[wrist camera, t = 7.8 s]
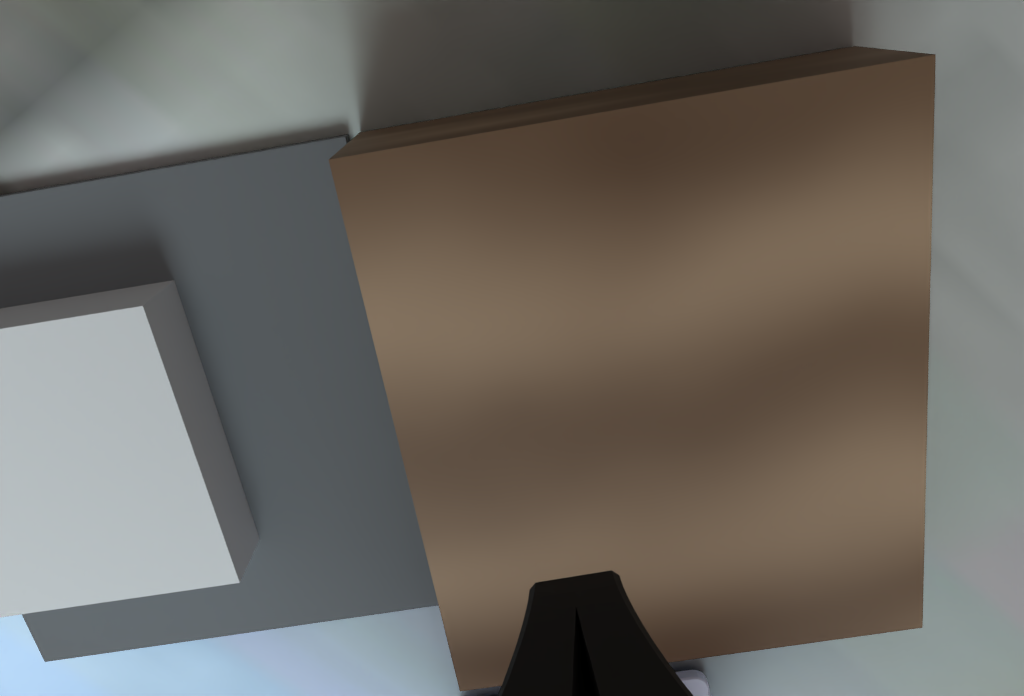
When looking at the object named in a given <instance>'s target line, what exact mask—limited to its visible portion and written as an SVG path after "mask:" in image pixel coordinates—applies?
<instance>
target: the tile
mask: <svg viewBox="0 0 1024 696" xmlns="http://www.w3.org/2000/svg"><path fill="white" fill-rule="evenodd" d="M259 540H260V539H259V536H258V533H257V530H256V527H255V524H254V521H253V517H252V514H251V511H250V508H249V505H248V502H247V499H246V496H245V493H244V490H243V487H242V484H241V481H240V478H239V475H238V472H237V469H236V466H235V463H234V460H233V457H232V454H231V451H230V448H229V445H228V442H227V439H226V436H225V433H224V430H223V427H222V424H221V421H220V418H219V415H218V412H217V409H216V406H215V403H214V400H213V397H212V394H211V391H210V388H209V385H208V382H207V379H206V376H205V372H204V369H203V366H202V363H201V360H200V357H199V354H198V351H197V348H196V345H195V342H194V339H193V336H192V333H191V330H190V327H189V324H188V321H187V318H186V315H185V312H184V309H183V306H182V303H181V300H180V297H179V294H178V291H177V288H176V285H175V282H174V280H172V281H166V282H160V283H154V284H147V285H141V286H135V287H129V288H123V289H117V290H111V291H105V292H98V293H92V294H86V295H80V296H74V297H68V298H62V299H56V300H50V301H43V302H37V303H31V304H25V305H19V306H13V307H7V308H1V309H0V617H6V616H13V615H20V614H27V613H34V612H41V611H48V610H55V609H62V608H69V607H76V606H82V605H89V604H96V603H103V602H110V601H117V600H124V599H131V598H138V597H145V596H152V595H159V594H166V593H173V592H180V591H187V590H194V589H201V588H207V587H214V586H221V585H228V584H235V583H240V581H241V579H242V577H243V575H244V572H245V570H246V568H247V566H248V564H249V561H250V559H251V557H252V555H253V553H254V551H255V548H256V546H257V544H258V542H259Z"/></svg>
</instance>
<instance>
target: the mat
mask: <svg viewBox="0 0 1024 696" xmlns="http://www.w3.org/2000/svg"><path fill="white" fill-rule="evenodd" d="M348 142H349V137H348V135H342V136H337V137H331V138H325V139H319V140H314V141H308V142H302V143H297V144H291V145H285V146H279V147H274V148H268V149H262V150H256V151H251V152H245V153H239V154H234V155H228V156H222V157H216V158H211V159H205V160H199V161H193V162H188V163H182V164H176V165H171V166H165V167H159V168H153V169H148V170H142V171H136V172H130V173H125V174H119V175H113V176H107V177H102V178H96V179H90V180H85V181H79V182H73V183H67V184H62V185H56V186H50V187H44V188H39V189H33V190H27V191H22V192H16V193H10V194H4V195H0V309H1V308H7V307H13V306H19V305H25V304H31V303H37V302H43V301H50V300H56V299H62V298H68V297H74V296H80V295H86V294H92V293H98V292H105V291H111V290H117V289H123V288H129V287H135V286H141V285H147V284H154V283H160V282H166V281H172V280H174V282H175V285H176V288H177V291H178V294H179V297H180V300H181V303H182V306H183V309H184V312H185V315H186V318H187V321H188V324H189V327H190V330H191V333H192V336H193V339H194V342H195V345H196V348H197V351H198V354H199V357H200V360H201V363H202V366H203V369H204V372H205V376H206V379H207V382H208V385H209V388H210V391H211V394H212V397H213V400H214V403H215V406H216V409H217V412H218V415H219V418H220V421H221V424H222V427H223V430H224V433H225V436H226V439H227V442H228V445H229V448H230V451H231V454H232V457H233V460H234V463H235V466H236V469H237V472H238V475H239V478H240V481H241V484H242V487H243V490H244V493H245V496H246V499H247V502H248V505H249V508H250V511H251V514H252V517H253V521H254V524H255V527H256V530H257V533H258V536H259V539H260V540H259V542H258V544H257V546H256V548H255V551H254V553H253V555H252V557H251V559H250V561H249V564H248V566H247V568H246V570H245V572H244V575H243V577H242V579H241V581H240V583H235V584H228V585H221V586H214V587H207V588H201V589H194V590H187V591H180V592H173V593H166V594H159V595H152V596H145V597H138V598H131V599H124V600H117V601H110V602H103V603H96V604H89V605H82V606H76V607H69V608H62V609H55V610H48V611H41V612H34V613H27V614H22V615H23V618H24V620H25V622H26V624H27V626H28V628H29V630H30V632H31V634H32V636H33V638H34V640H35V642H36V644H37V647H38V649H39V651H40V653H41V655H42V657H43V659H44V661H45V662H47V661H54V660H61V659H68V658H75V657H82V656H89V655H96V654H102V653H109V652H116V651H123V650H130V649H137V648H144V647H151V646H158V645H165V644H172V643H179V642H186V641H193V640H200V639H207V638H214V637H221V636H228V635H235V634H242V633H249V632H255V631H262V630H269V629H276V628H283V627H290V626H297V625H304V624H311V623H318V622H325V621H332V620H339V619H346V618H353V617H360V616H367V615H374V614H381V613H388V612H395V611H402V610H408V609H415V608H422V607H429V606H436V605H439V604H438V600H437V596H436V592H435V588H434V584H433V580H432V576H431V572H430V568H429V564H428V560H427V556H426V552H425V548H424V544H423V540H422V536H421V532H420V528H419V523H418V519H417V515H416V511H415V507H414V503H413V499H412V495H411V491H410V487H409V483H408V479H407V475H406V471H405V467H404V463H403V459H402V455H401V451H400V447H399V443H398V439H397V435H396V431H395V427H394V422H393V418H392V414H391V410H390V406H389V402H388V398H387V394H386V390H385V386H384V382H383V378H382V374H381V370H380V366H379V362H378V358H377V354H376V350H375V346H374V342H373V338H372V334H371V330H370V326H369V322H368V317H367V313H366V309H365V305H364V301H363V297H362V293H361V289H360V285H359V281H358V277H357V273H356V269H355V265H354V261H353V257H352V253H351V249H350V245H349V241H348V237H347V233H346V229H345V225H344V221H343V216H342V212H341V208H340V204H339V200H338V196H337V192H336V188H335V184H334V180H333V176H332V172H331V168H330V164H329V159H330V158H331V157H332V156H333V155H334V154H336V153H337V152H338V151H339V150H340V149H341V148H343V147H344V146H345V145H346V144H347V143H348Z"/></svg>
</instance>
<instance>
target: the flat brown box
mask: <svg viewBox="0 0 1024 696" xmlns="http://www.w3.org/2000/svg"><path fill="white" fill-rule="evenodd" d="M934 96H935V54H925V53H915V52H906V51H896V50H886V49H877V48H867V47H857V46H852V47H847V48H841V49H835V50H829V51H824V52H818V53H812V54H807V55H801V56H795V57H789V58H784V59H778V60H772V61H766V62H761V63H755V64H749V65H744V66H738V67H732V68H726V69H721V70H715V71H709V72H703V73H698V74H692V75H686V76H681V77H675V78H669V79H663V80H658V81H652V82H646V83H640V84H635V85H629V86H623V87H617V88H612V89H606V90H600V91H595V92H589V93H583V94H577V95H572V96H566V97H560V98H554V99H549V100H543V101H537V102H532V103H526V104H520V105H514V106H509V107H503V108H497V109H491V110H486V111H480V112H474V113H468V114H463V115H457V116H451V117H446V118H440V119H434V120H428V121H423V122H417V123H411V124H405V125H400V126H394V127H388V128H383V129H377V130H371V131H365V132H360V133H359V134H358V135H356V136H355V137H354V138H353V139H352V140H351V141H349V142H348V143H347V144H346V145H345V146H344V147H343V148H341V149H340V150H339V151H338V152H337V153H336V154H334V155H333V156H332V157H331V158H330V159H329V164H330V168H331V172H332V176H333V180H334V184H335V188H336V192H337V196H338V200H339V204H340V208H341V212H342V216H343V221H344V225H345V229H346V233H347V237H348V241H349V245H350V249H351V253H352V257H353V261H354V265H355V269H356V273H357V277H358V281H359V285H360V289H361V293H362V297H363V301H364V305H365V309H366V313H367V317H368V322H369V326H370V330H371V334H372V338H373V342H374V346H375V350H376V354H377V358H378V362H379V366H380V370H381V374H382V378H383V382H384V386H385V390H386V394H387V398H388V402H389V406H390V410H391V414H392V418H393V422H394V427H395V431H396V435H397V439H398V443H399V447H400V451H401V455H402V459H403V463H404V467H405V471H406V475H407V479H408V483H409V487H410V491H411V495H412V499H413V503H414V507H415V511H416V515H417V519H418V523H419V528H420V532H421V536H422V540H423V544H424V548H425V552H426V556H427V560H428V564H429V568H430V572H431V576H432V580H433V584H434V588H435V592H436V596H437V600H438V604H439V608H440V612H441V616H442V620H443V624H444V628H445V633H446V637H447V641H448V645H449V649H450V653H451V657H452V661H453V665H454V669H455V673H456V677H457V681H458V685H459V689H460V691H466V690H473V689H481V688H488V687H495V686H502V684H503V681H504V678H505V675H506V673H507V670H508V667H509V664H510V661H511V659H512V656H513V653H514V650H515V647H516V644H517V641H518V637H519V634H520V631H521V627H522V624H523V620H524V616H525V612H526V608H527V603H528V597H529V590H530V588H531V587H532V586H533V585H534V584H535V583H536V582H542V581H548V580H554V579H561V578H567V577H573V576H579V575H585V574H592V573H598V572H604V571H610V570H612V571H614V572H615V573H617V574H618V575H620V579H621V582H622V584H623V587H624V589H625V592H626V594H627V596H628V598H629V600H630V602H631V604H632V606H633V608H634V610H635V612H636V613H637V615H638V617H639V618H640V620H641V622H642V624H643V625H644V627H645V629H646V630H647V632H648V633H649V635H650V637H651V638H652V640H653V641H654V643H655V644H656V646H657V647H658V648H659V650H660V651H661V653H662V654H663V656H664V657H665V659H666V660H667V661H668V663H669V662H676V661H683V660H691V659H698V658H705V657H712V656H720V655H727V654H734V653H741V652H749V651H756V650H763V649H770V648H777V647H785V646H792V645H799V644H806V643H814V642H821V641H828V640H835V639H843V638H850V637H857V636H864V635H872V634H879V633H886V632H893V631H901V630H908V629H915V628H922V620H923V576H924V533H925V489H926V445H927V402H928V358H929V314H930V271H931V227H932V184H933V140H934Z"/></svg>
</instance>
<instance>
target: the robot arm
mask: <svg viewBox="0 0 1024 696" xmlns="http://www.w3.org/2000/svg"><path fill="white" fill-rule="evenodd" d="M498 696H710V690H709V685H708V681H707V679H706V676H705V675H704V674H703V673H702V672H700V671H697V670H686V671H679V672H675V671H674V670H673V669H672V667H671V666H670V664H669V663H668V661H667V660H666V659H665V657H664V656H663V654H662V653H661V651H660V650H659V648H658V647H657V646H656V644H655V643H654V641H653V640H652V638H651V637H650V635H649V633H648V632H647V630H646V629H645V627H644V625H643V624H642V622H641V620H640V618H639V617H638V615H637V613H636V612H635V610H634V608H633V606H632V604H631V602H630V600H629V598H628V596H627V594H626V592H625V589H624V587H623V584H622V582H621V579H620V575H618V574H617V573H615V572H614V571H612V570H610V571H604V572H598V573H592V574H585V575H579V576H573V577H567V578H561V579H554V580H548V581H542V582H536V583H535V584H534V585H533V586H532V587H531V588H530V590H529V597H528V603H527V608H526V612H525V616H524V620H523V624H522V627H521V631H520V634H519V637H518V641H517V644H516V647H515V650H514V653H513V656H512V659H511V661H510V664H509V667H508V670H507V673H506V675H505V678H504V681H503V684H502V686H501V689H500V691H499V694H498Z"/></svg>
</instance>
